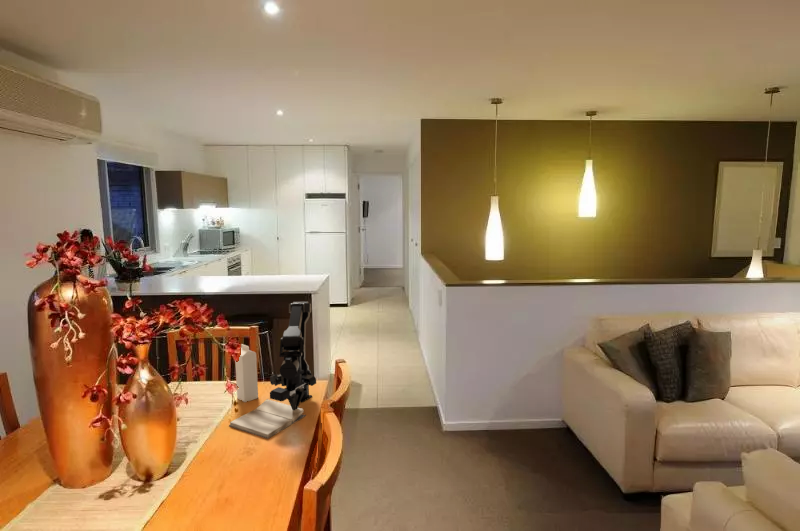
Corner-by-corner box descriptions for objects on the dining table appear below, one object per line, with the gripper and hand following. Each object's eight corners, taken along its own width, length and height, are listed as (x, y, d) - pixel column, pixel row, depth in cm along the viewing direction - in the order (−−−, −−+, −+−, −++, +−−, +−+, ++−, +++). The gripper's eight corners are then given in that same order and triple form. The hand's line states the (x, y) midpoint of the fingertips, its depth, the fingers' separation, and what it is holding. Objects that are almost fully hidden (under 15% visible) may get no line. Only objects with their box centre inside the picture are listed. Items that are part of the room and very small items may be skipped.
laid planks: (255, 412, 170) (255, 409, 170) (291, 423, 162) (291, 420, 161) (230, 425, 160) (230, 422, 160) (267, 437, 152) (267, 434, 152)
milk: (244, 402, 180) (241, 348, 177) (237, 398, 184) (233, 345, 181) (258, 397, 184) (255, 344, 181) (250, 393, 188) (248, 341, 185)
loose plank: (267, 401, 176) (267, 399, 175) (303, 411, 167) (303, 408, 167) (256, 411, 171) (255, 409, 171) (293, 422, 162) (292, 419, 162)
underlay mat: (268, 405, 177) (268, 404, 177) (305, 415, 168) (305, 415, 168) (228, 426, 161) (228, 425, 161) (267, 438, 152) (267, 438, 152)
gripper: (293, 357, 177) (295, 395, 179) (257, 372, 161) (259, 415, 163) (316, 361, 172) (317, 401, 174) (281, 378, 155) (283, 422, 158)
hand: (294, 409), depth 167 cm, fingers closed
